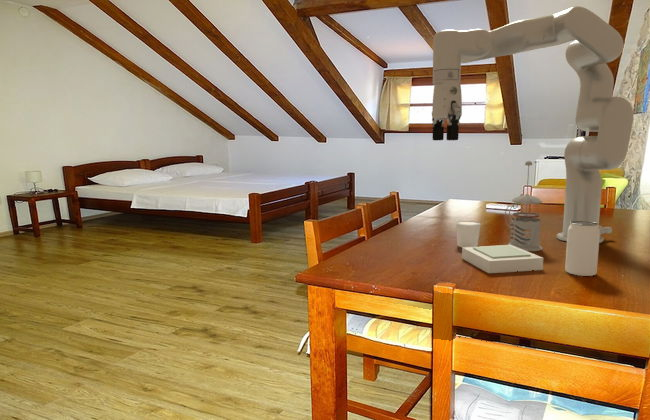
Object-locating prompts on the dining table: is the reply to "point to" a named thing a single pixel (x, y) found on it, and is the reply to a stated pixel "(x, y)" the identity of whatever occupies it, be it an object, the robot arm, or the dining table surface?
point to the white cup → (467, 233)
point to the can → (582, 248)
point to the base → (502, 258)
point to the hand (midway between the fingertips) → (444, 140)
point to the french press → (525, 223)
